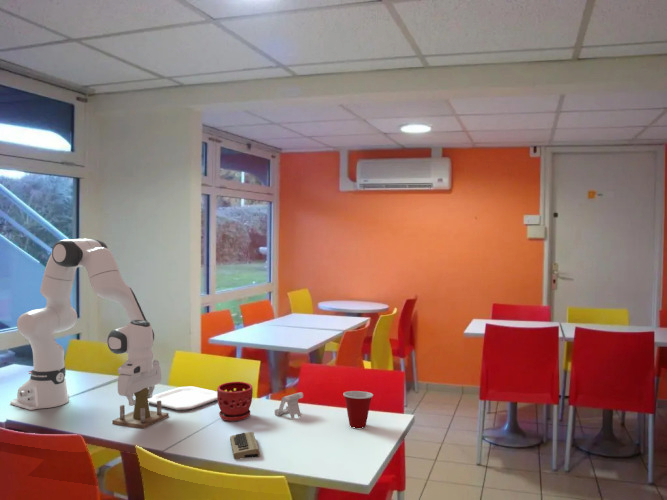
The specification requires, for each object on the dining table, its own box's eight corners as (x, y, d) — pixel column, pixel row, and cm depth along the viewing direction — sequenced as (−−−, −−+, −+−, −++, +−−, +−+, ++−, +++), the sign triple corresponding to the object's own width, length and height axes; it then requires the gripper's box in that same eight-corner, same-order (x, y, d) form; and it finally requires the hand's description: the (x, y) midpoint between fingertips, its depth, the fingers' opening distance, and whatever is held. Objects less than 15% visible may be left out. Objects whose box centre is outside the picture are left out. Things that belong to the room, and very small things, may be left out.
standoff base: (112, 423, 204) (112, 406, 203) (138, 412, 217) (138, 396, 217) (143, 428, 199) (143, 411, 199) (168, 416, 212) (168, 400, 212)
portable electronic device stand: (291, 410, 220) (291, 389, 219) (305, 415, 214) (305, 393, 214) (274, 415, 214) (274, 393, 213) (287, 420, 208) (287, 398, 208)
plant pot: (210, 417, 211) (210, 386, 210) (238, 409, 220) (238, 379, 220) (231, 426, 202) (231, 393, 201) (259, 417, 211) (259, 385, 211)
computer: (229, 442, 188) (229, 432, 187) (254, 440, 190) (254, 430, 189) (233, 460, 172) (233, 450, 172) (259, 458, 174) (259, 447, 174)
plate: (228, 398, 236) (228, 393, 236) (183, 415, 215) (183, 409, 215) (186, 389, 249) (186, 384, 249) (140, 404, 228) (140, 398, 228)
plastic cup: (376, 422, 206) (376, 390, 205) (368, 432, 195) (368, 398, 195) (348, 419, 209) (348, 387, 209) (338, 429, 199) (339, 395, 199)
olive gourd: (144, 420, 204) (144, 390, 204) (129, 418, 205) (129, 389, 205) (153, 414, 210) (153, 385, 210) (138, 413, 211) (138, 384, 211)
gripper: (152, 357, 218) (152, 393, 218) (114, 369, 199) (114, 408, 199) (165, 359, 216) (165, 394, 216) (128, 371, 197) (128, 410, 197)
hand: (140, 401), depth 208 cm, fingers open, 8 cm apart
